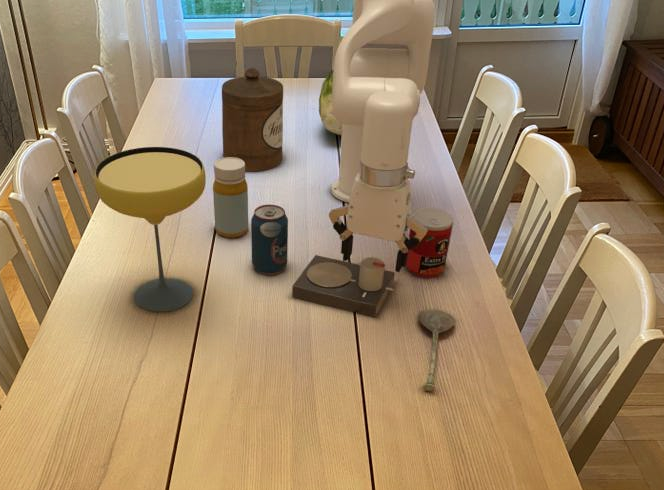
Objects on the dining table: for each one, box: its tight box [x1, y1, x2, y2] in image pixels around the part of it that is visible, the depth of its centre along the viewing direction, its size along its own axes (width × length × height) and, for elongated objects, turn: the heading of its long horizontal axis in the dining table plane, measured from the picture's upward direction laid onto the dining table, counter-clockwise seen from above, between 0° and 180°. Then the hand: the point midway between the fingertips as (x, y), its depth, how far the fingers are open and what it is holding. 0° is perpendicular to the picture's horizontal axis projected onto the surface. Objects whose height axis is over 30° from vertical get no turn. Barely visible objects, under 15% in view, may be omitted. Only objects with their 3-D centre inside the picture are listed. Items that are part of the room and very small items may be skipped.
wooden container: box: [221, 67, 284, 172], centre depth 173 cm, size 15×15×22 cm
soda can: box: [250, 204, 289, 275], centre depth 137 cm, size 7×7×12 cm
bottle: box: [212, 157, 249, 239], centre depth 147 cm, size 7×7×15 cm
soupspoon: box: [417, 309, 457, 392], centre depth 120 cm, size 22×3×7 cm
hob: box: [291, 254, 396, 318], centre depth 133 cm, size 17×12×3 cm
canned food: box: [405, 207, 454, 278], centre depth 137 cm, size 8×8×11 cm
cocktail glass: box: [93, 146, 207, 313], centre depth 125 cm, size 18×18×25 cm
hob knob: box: [358, 256, 386, 291], centre depth 130 cm, size 4×4×5 cm
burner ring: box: [307, 262, 352, 288], centre depth 134 cm, size 8×8×1 cm
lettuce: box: [318, 69, 342, 136], centre depth 187 cm, size 19×23×18 cm
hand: (373, 262), depth 128 cm, fingers open, 9 cm apart
